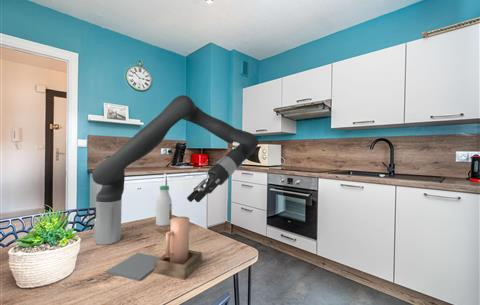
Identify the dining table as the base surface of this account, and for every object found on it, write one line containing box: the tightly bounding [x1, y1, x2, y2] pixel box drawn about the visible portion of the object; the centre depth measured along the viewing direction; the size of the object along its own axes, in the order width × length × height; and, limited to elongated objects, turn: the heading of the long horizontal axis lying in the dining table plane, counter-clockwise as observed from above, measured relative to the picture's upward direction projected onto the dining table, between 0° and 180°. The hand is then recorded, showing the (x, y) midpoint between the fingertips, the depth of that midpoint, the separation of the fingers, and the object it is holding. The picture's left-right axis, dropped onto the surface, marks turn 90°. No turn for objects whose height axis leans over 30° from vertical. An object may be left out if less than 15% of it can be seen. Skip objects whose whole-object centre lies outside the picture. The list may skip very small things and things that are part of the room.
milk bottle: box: [155, 185, 173, 227], centre depth 114 cm, size 8×8×20 cm
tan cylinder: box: [165, 216, 190, 265], centre depth 70 cm, size 8×6×16 cm
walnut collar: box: [153, 249, 203, 280], centre depth 71 cm, size 11×11×4 cm
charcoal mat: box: [105, 252, 160, 282], centre depth 72 cm, size 13×13×1 cm
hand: (192, 200), depth 76 cm, fingers open, 8 cm apart
